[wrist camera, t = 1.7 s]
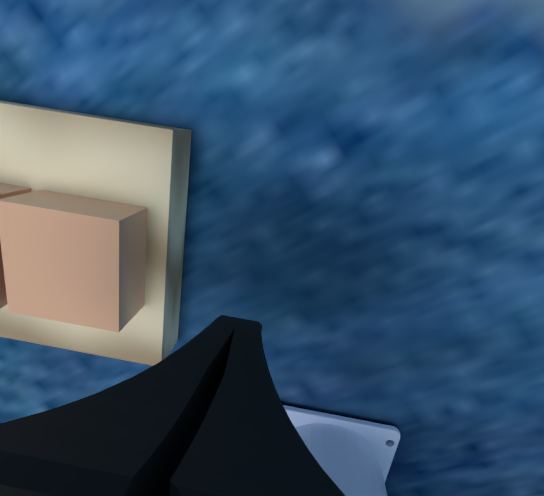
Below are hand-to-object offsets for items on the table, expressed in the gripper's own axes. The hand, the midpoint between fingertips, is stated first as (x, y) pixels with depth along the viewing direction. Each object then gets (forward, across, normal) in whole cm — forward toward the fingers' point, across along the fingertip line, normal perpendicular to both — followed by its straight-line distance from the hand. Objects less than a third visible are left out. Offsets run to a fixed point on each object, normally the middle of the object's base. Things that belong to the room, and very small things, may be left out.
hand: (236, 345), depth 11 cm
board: (+8, +10, 0) cm, 13 cm away
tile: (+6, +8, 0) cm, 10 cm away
